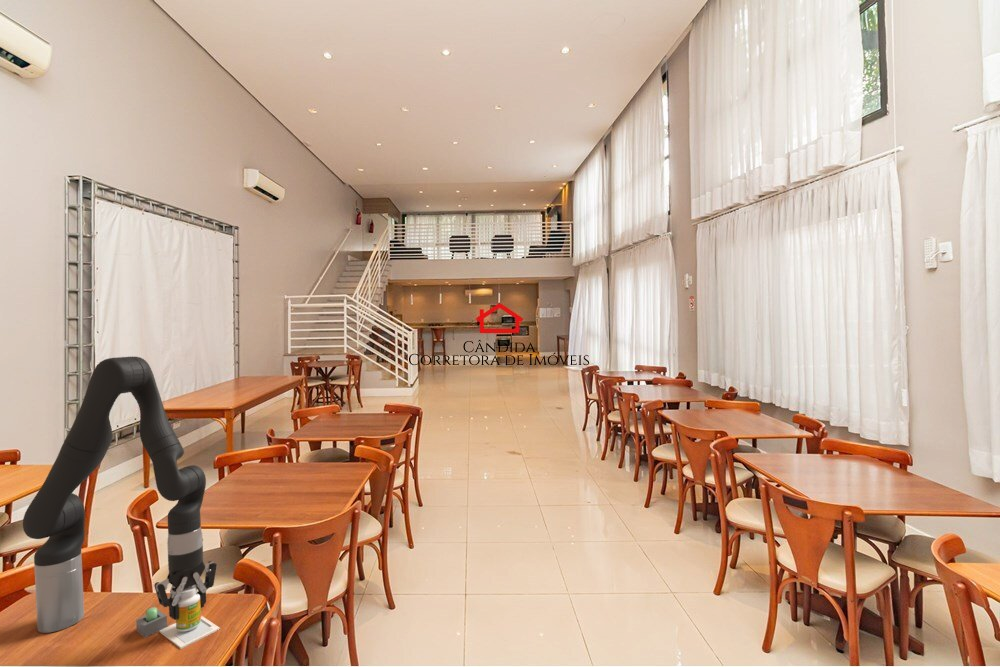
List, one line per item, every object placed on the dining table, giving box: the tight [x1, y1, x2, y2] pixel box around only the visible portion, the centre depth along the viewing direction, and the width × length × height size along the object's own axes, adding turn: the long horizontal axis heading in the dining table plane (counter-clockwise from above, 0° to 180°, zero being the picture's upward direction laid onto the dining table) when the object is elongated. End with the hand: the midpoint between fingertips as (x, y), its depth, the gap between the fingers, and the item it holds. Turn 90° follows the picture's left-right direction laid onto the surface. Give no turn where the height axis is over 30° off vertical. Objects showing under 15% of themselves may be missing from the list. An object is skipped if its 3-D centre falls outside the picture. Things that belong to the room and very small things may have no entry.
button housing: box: [135, 609, 168, 638], centre depth 126 cm, size 5×5×3 cm
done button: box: [145, 606, 158, 623], centre depth 126 cm, size 2×2×3 cm
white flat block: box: [158, 615, 221, 650], centre depth 125 cm, size 12×9×1 cm
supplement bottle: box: [175, 585, 202, 632], centre depth 126 cm, size 5×5×10 cm
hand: (188, 612), depth 126 cm, fingers closed on supplement bottle, 5 cm apart
